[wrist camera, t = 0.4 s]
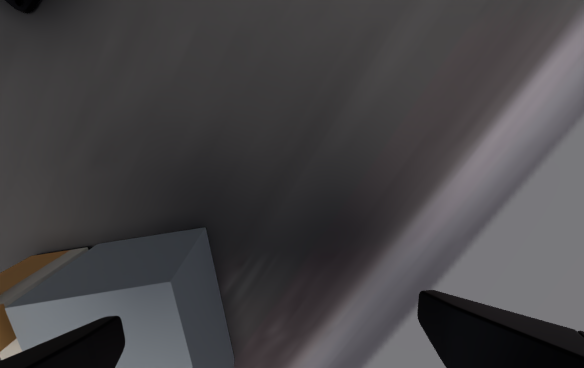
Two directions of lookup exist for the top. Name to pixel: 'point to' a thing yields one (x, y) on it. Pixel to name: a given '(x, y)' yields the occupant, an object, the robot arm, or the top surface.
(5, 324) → the side door
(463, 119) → the top surface
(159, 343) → the grey knobbed box
